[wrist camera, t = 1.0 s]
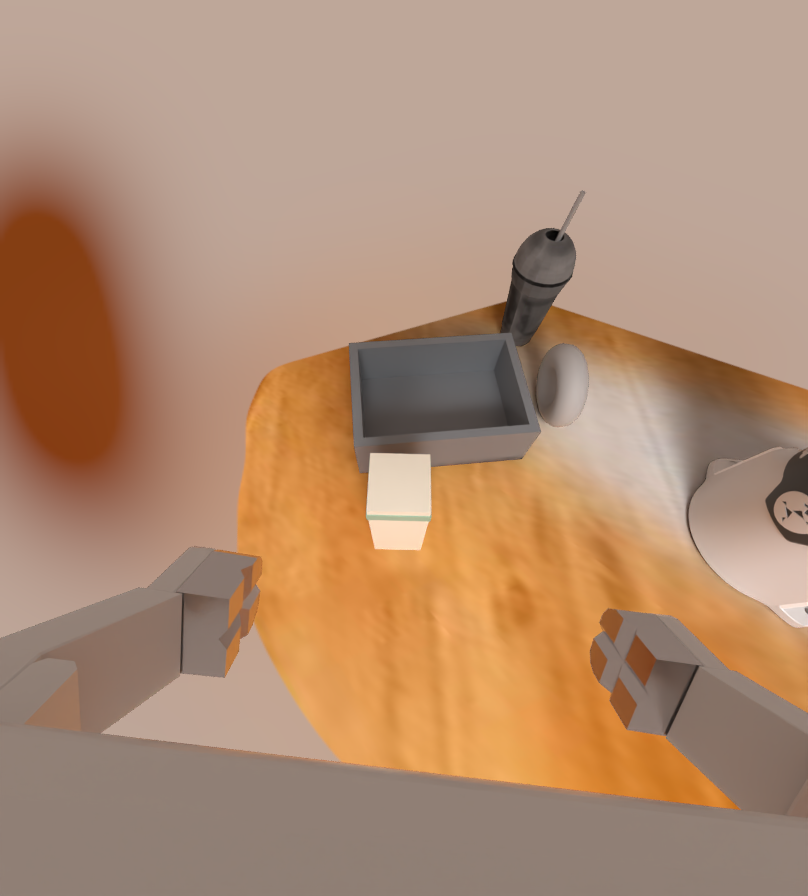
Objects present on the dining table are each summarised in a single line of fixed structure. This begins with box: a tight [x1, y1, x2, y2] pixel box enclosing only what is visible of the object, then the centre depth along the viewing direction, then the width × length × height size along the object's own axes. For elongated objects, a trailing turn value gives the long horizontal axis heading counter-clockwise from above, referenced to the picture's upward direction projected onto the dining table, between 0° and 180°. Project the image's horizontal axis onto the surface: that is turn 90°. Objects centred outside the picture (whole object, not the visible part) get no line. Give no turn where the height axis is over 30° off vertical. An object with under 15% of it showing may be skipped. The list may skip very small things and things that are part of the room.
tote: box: [349, 333, 541, 473], centre depth 47 cm, size 20×14×7 cm
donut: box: [536, 343, 589, 427], centre depth 46 cm, size 10×4×10 cm, turn 0°
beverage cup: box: [501, 191, 585, 346], centre depth 47 cm, size 7×7×20 cm
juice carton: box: [366, 453, 431, 550], centre depth 37 cm, size 5×5×14 cm
